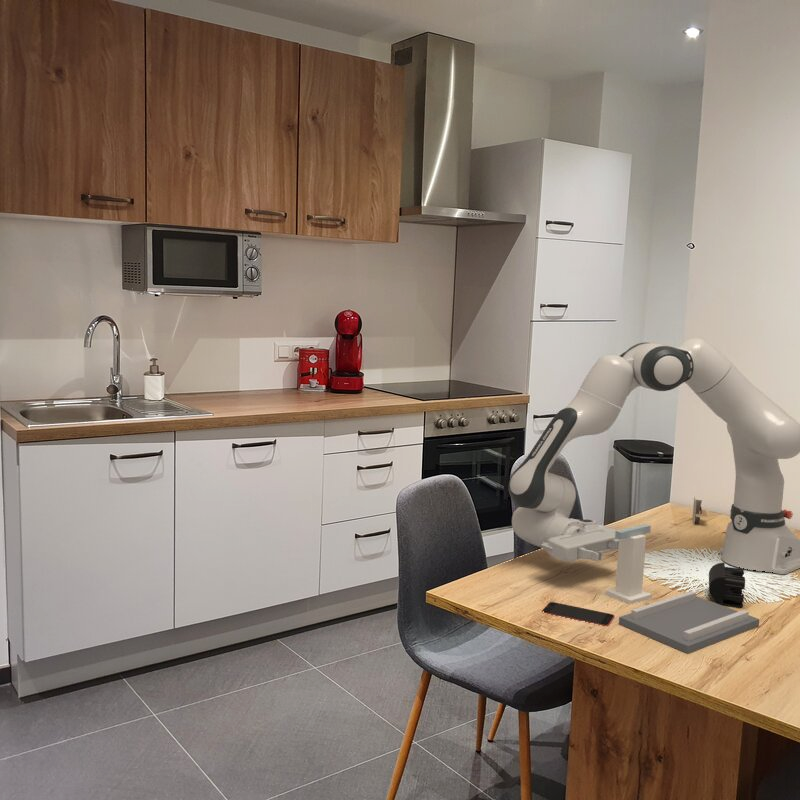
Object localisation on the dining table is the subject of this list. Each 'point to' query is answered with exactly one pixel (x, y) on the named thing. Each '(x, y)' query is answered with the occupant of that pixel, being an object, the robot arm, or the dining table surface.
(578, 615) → the smartphone
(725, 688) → the dining table surface
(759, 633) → the dining table surface
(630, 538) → the stand
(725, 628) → the plate
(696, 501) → the architectural model
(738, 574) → the black rounded block
